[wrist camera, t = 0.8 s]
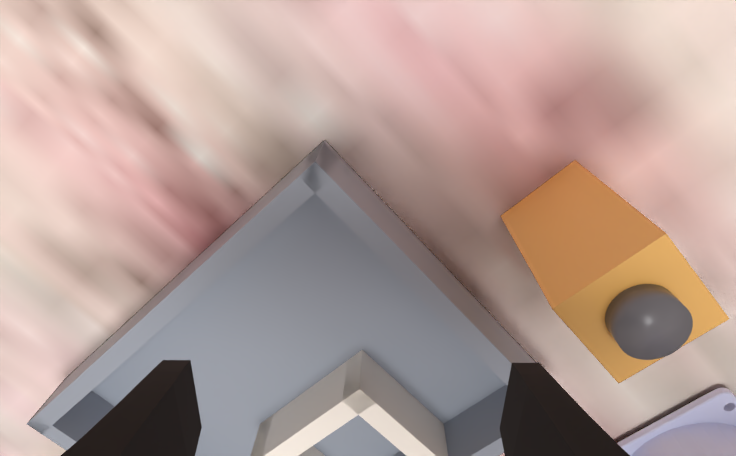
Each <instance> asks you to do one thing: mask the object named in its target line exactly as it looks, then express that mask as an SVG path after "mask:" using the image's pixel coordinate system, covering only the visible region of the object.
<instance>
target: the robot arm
mask: <svg viewBox="0 0 736 456" xmlns="http://www.w3.org/2000/svg"><path fill="white" fill-rule="evenodd" d="M726 404H727V405H726ZM201 429H202V425H201V420H200V414H199V408H198V402H197V396H196V390H195V384H194V378H193V372H192V366H191V360H162V361H161V362H160V363H159V364H158V365H157V366H156V367H155V368H154V369H153V370H152V371H151V372H150V373H149V374H148V375H147V376H146V377H145V378H144V379H143V380H141V381H140V382H139V383H138V384H137V385H136V386H135V387H134V388H133V389H132V390H131V391H130V392H129V393H128V394H127V395H126V396H125V397H124V398H123V399H122V400H121V401H120V402H119V403H118V404H117V405H116V406H115V407H114V408H113V409H112V410H111V411H109V412H108V413H107V414H106V415H105V416H104V417H103V418H102V419H101V420H100V421H99V422H98V423H97V424H96V425H95V426H93V427H92V428H91V429H90V430H89V431H88V432H87V433H86V434H85V435H84V436H83V437H82V438H80V439H79V440H78V441H77V442H76V443H75V444H74V445H72V446H71V447H70V448H69V449H68V450H67V451H66V452H64V453H63V454H62V455H61V456H195V453H196V449H197V445H198V441H199V437H200V433H201ZM500 434H501V439H502V444H503V448H504V453H505V456H736V397H735V395H734V394H733V393H732V392H731V391H730V390H729V389H728V388H717V389H715V390H713V391H711V392H709V393H707V394H706V395H704V396H702V397H700V398H698V399H696V400H695V401H693V402H691V403H689V404H687V405H685V406H684V407H682V408H680V409H678V410H676V411H674V412H673V413H671V414H669V415H667V416H665V417H663V418H662V419H660V420H658V421H656V422H654V423H652V424H651V425H649V426H647V427H645V428H643V429H641V430H640V431H638V432H636V433H634V434H632V435H630V436H629V437H627V438H625V439H623V440H621V441H619V442H618V443H616V442H615V441H614V440H613V439H612V438H611V437H610V436H609V435H608V434H607V433H606V432H605V431H604V430H603V429H602V428H601V427H600V426H599V425H598V424H597V423H596V422H595V421H594V420H593V419H592V418H591V417H590V416H589V415H588V414H587V413H586V412H585V411H584V410H583V409H582V408H581V407H580V406H579V405H578V404H577V403H576V402H575V401H574V399H573V398H572V397H571V396H570V395H569V394H568V393H567V392H566V391H565V390H564V389H563V388H562V387H561V386H560V385H559V384H558V383H557V382H556V380H555V379H554V378H553V377H552V376H551V375H550V374H549V373H548V372H547V371H546V370H545V369H544V368H543V367H542V366H541V365H540V364H539V363H512V365H511V370H510V376H509V381H508V386H507V392H506V397H505V402H504V407H503V413H502V418H501V423H500Z"/></svg>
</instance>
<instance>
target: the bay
mask: <svg viewBox="0 0 736 456" xmlns="http://www.w3.org/2000/svg"><path fill="white" fill-rule="evenodd" d="M162 360H191V366H192V372H193V378H194V384H195V390H196V396H197V402H198V408H199V414H200V420H201V425H202V429H201V433H200V437H199V441H198V445H197V449H196V453H195V456H499V455H501V454H502V453H504V448H503V444H502V439H501V434H500V423H501V418H502V413H503V407H504V402H505V397H506V392H507V386H508V381H509V376H510V370H511V365H512V363H536V362H535V361H534V360H533V359H532V358H531V357H530V356H529V355H528V354H527V352H526V351H525V350H524V349H523V348H522V347H521V346H520V345H519V344H518V343H517V342H516V341H515V340H514V339H513V338H512V337H511V336H510V335H509V333H508V332H507V331H506V330H505V329H504V328H503V327H502V326H501V325H500V324H499V323H498V322H497V321H496V320H495V319H494V318H493V317H492V316H491V315H490V313H489V312H488V311H487V310H486V309H485V308H484V307H483V306H482V305H481V304H480V303H479V302H478V301H477V300H476V299H475V298H474V297H473V296H472V295H471V293H470V292H469V291H468V290H467V289H466V288H465V287H464V286H463V285H462V284H461V283H460V282H459V281H458V280H457V279H456V278H455V277H454V276H453V275H452V273H451V272H450V271H449V270H448V269H447V268H446V267H445V266H444V265H443V264H442V263H441V262H440V261H439V260H438V259H437V258H436V257H435V256H434V254H433V253H432V252H431V251H430V250H429V249H428V248H427V247H426V246H425V245H424V244H423V243H422V242H421V241H420V240H419V239H418V238H417V237H416V236H415V234H414V233H413V232H412V231H411V230H410V229H409V228H408V227H407V226H406V225H405V224H404V223H403V222H402V221H401V220H400V219H399V218H398V217H397V216H396V214H395V213H394V212H393V211H392V210H391V209H390V208H389V207H388V206H387V205H386V204H385V203H384V202H383V201H382V200H381V199H380V198H379V197H378V196H377V194H376V193H375V192H374V191H373V190H372V189H371V188H370V187H369V186H368V185H367V184H366V183H365V182H364V181H363V180H362V179H361V178H360V177H359V176H358V174H357V173H356V172H355V171H354V170H353V169H352V168H351V167H350V166H349V165H348V164H347V163H346V162H345V161H344V160H343V159H342V158H341V157H340V155H339V154H338V153H337V152H336V151H335V150H334V149H333V148H332V147H331V146H330V145H329V144H328V143H327V142H326V141H325V140H324V141H323V142H322V143H321V144H319V145H318V146H317V147H316V148H315V149H314V150H313V151H312V152H311V153H310V154H309V155H308V156H306V157H305V158H304V159H303V160H302V161H301V162H300V163H299V164H298V165H297V166H296V167H294V168H293V169H292V170H291V171H290V172H289V173H288V174H287V175H286V176H285V177H284V178H283V179H281V180H280V181H279V182H278V183H277V184H276V185H275V186H274V187H273V188H272V189H271V190H270V191H268V192H267V193H266V194H265V195H264V196H263V197H262V198H261V199H260V200H259V201H258V202H256V203H255V204H254V205H253V206H252V207H251V208H250V209H249V210H248V211H247V212H246V213H245V214H243V215H242V216H241V217H240V218H239V219H238V220H237V221H236V222H235V223H234V224H233V225H231V226H230V227H229V228H228V229H227V230H226V231H225V232H224V233H223V234H222V235H221V236H220V237H218V238H217V239H216V240H215V241H214V242H213V243H212V244H211V245H210V246H209V247H208V248H206V249H205V250H204V251H203V252H202V253H201V254H200V255H199V256H198V257H197V258H196V259H195V260H193V261H192V262H191V263H190V264H189V265H188V266H187V267H186V268H185V269H184V270H183V271H181V272H180V273H179V274H178V275H177V276H176V277H175V278H174V279H173V280H172V281H171V282H170V283H168V284H167V285H166V286H165V287H164V288H163V289H162V290H161V291H160V292H159V293H158V294H156V295H155V296H154V297H153V298H152V299H151V300H150V301H149V302H148V303H147V304H146V305H145V306H143V307H142V308H141V309H140V310H139V311H138V312H137V313H136V314H135V315H134V316H133V317H131V318H130V319H129V320H128V321H127V322H126V323H125V324H124V325H123V326H122V327H121V328H120V329H118V330H117V331H116V332H115V333H114V334H113V335H112V336H111V337H110V338H109V339H108V340H106V341H105V342H104V343H103V344H102V345H101V346H100V347H99V348H98V349H97V350H96V351H95V352H93V353H92V354H91V355H90V356H89V357H88V358H87V359H86V360H85V361H84V362H83V363H81V364H80V365H79V366H78V367H77V368H76V369H75V370H74V371H73V372H72V373H71V374H70V375H68V376H67V377H66V378H65V379H64V381H63V382H62V383H61V384H60V385H59V387H58V388H57V389H56V390H55V391H54V392H53V394H52V395H51V396H50V397H49V398H48V399H47V401H46V402H45V403H44V404H43V405H42V406H41V408H40V409H39V410H38V411H37V412H36V414H35V415H34V416H33V417H32V418H31V419H30V421H29V422H28V423H27V425H29V426H30V427H32V428H33V429H35V430H36V431H38V432H39V433H41V434H43V435H44V436H46V437H47V438H49V439H50V440H52V441H53V442H55V443H56V444H58V445H59V446H61V447H62V448H64V449H65V450H68V449H69V448H70V447H71V446H72V445H74V444H75V443H76V442H77V441H78V440H79V439H80V438H82V437H83V436H84V435H85V434H86V433H87V432H88V431H89V430H90V429H91V428H92V427H93V426H95V425H96V424H97V423H98V422H99V421H100V420H101V419H102V418H103V417H104V416H105V415H106V414H107V413H108V412H109V411H111V410H112V409H113V408H114V407H115V406H116V405H117V404H118V403H119V402H120V401H121V400H122V399H123V398H124V397H125V396H126V395H127V394H128V393H129V392H130V391H131V390H132V389H133V388H134V387H135V386H136V385H137V384H138V383H139V382H140V381H141V380H143V379H144V378H145V377H146V376H147V375H148V374H149V373H150V372H151V371H152V370H153V369H154V368H155V367H156V366H157V365H158V364H159V363H160V362H161V361H162Z"/></svg>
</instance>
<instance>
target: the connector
mask: <svg viewBox="0 0 736 456" xmlns="http://www.w3.org/2000/svg"><path fill="white" fill-rule="evenodd" d="M501 218H502V220H503V222H504V223H505V225H506V227H507V229H508V230H509V232H510V234H511V236H512V238H513V239H514V241H515V243H516V245H517V247H518V248H519V250H520V252H521V254H522V256H523V257H524V259H525V261H526V263H527V264H528V266H529V268H530V270H531V272H532V273H533V275H534V277H535V279H536V281H537V282H538V284H539V286H540V288H541V290H542V291H543V293H544V295H545V297H546V299H547V300H548V302H549V304H550V306H551V307H552V309H553V310H554V311H555V313H556V314H557V315H558V316H559V317H560V318H561V319H562V320H563V322H564V323H565V324H566V325H567V326H568V327H569V328H570V329H571V331H572V332H573V333H574V334H575V335H576V336H577V337H578V338H579V339H580V341H581V342H582V343H583V344H584V345H585V346H586V347H587V348H588V350H589V351H590V352H591V353H592V354H593V355H594V356H595V357H596V359H597V360H598V361H599V362H600V363H601V364H602V365H603V366H604V368H605V369H606V370H607V371H608V372H609V373H610V374H611V375H612V377H613V378H614V379H615V380H616V381H617V382H618V383H620V382H622V381H624V380H626V379H627V378H629V377H631V376H632V375H634V374H636V373H638V372H639V371H641V370H643V369H644V368H646V367H648V366H650V365H651V364H653V363H655V362H656V361H658V360H660V359H662V358H663V357H665V356H667V355H670V354H671V353H673V352H675V351H676V350H678V349H679V348H680V347H682V346H684V345H685V344H687V343H689V342H691V341H692V340H694V339H696V338H697V337H699V336H701V335H703V334H704V333H706V332H708V331H709V330H711V329H713V328H715V327H716V326H718V325H720V324H721V323H723V322H725V321H727V320H728V319H729V318H728V316H727V315H726V314H725V312H724V311H723V310H722V308H721V307H720V305H719V304H718V303H717V301H716V300H715V299H714V297H713V296H712V295H711V293H710V292H709V291H708V289H707V288H706V287H705V285H704V284H703V282H702V281H701V280H700V278H699V277H698V276H697V274H696V273H695V272H694V270H693V269H692V268H691V266H690V265H689V264H688V262H687V261H686V260H685V258H684V257H683V255H682V254H681V253H680V251H679V250H678V249H677V247H676V246H675V245H674V243H673V242H672V241H671V239H670V238H669V237H668V235H667V234H666V233H665V232H664V231H662V230H661V229H660V228H659V227H657V226H656V225H655V224H654V223H652V222H651V221H650V220H649V219H648V218H646V217H645V216H644V215H643V214H641V213H640V212H639V211H638V210H636V209H635V208H634V207H633V206H631V205H630V204H629V203H628V202H626V201H625V200H624V199H623V198H621V197H620V196H619V195H618V194H616V193H615V192H614V191H613V190H611V189H610V188H609V187H608V186H607V185H605V184H604V183H603V182H602V181H600V180H599V179H598V178H597V177H595V176H594V175H593V174H592V173H590V172H589V171H588V170H587V169H585V168H584V167H583V166H582V165H580V164H579V163H578V162H577V161H575V160H574V161H573V162H572V163H570V164H569V165H568V166H566V167H565V168H564V169H562V170H561V171H560V172H558V173H557V174H556V175H554V176H553V177H552V178H550V179H549V180H548V181H546V182H545V183H544V184H542V185H541V186H540V187H538V188H537V189H536V190H534V191H533V192H532V193H530V194H529V195H528V196H526V197H525V198H524V199H522V200H521V201H520V202H518V203H517V204H516V205H514V206H513V207H512V208H510V209H509V210H508V211H506V212H505V213H504V214H502V215H501Z"/></svg>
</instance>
